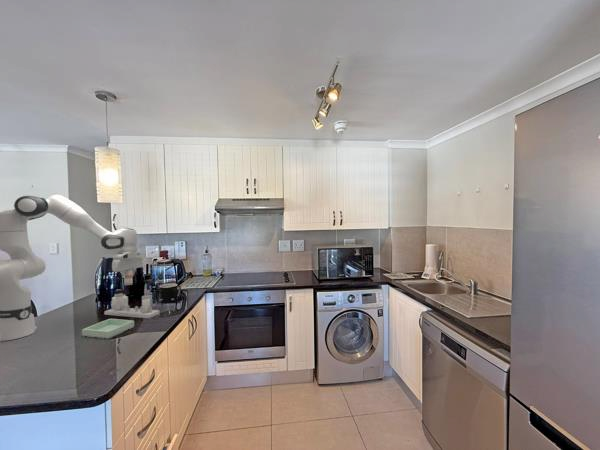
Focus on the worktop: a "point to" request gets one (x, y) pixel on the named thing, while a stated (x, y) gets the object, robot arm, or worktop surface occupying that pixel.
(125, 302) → the medicine bottle
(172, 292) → the mug
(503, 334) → the worktop surface
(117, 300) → the fuse left
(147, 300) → the fuse right
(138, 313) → the holder
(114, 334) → the tray
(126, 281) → the fuse marked
